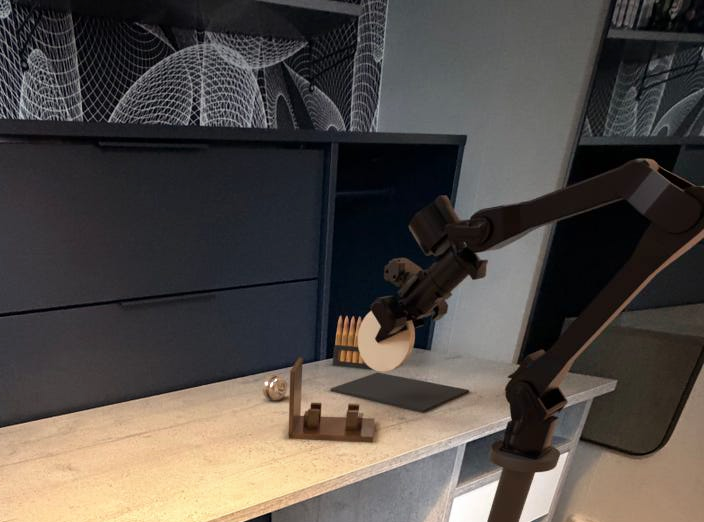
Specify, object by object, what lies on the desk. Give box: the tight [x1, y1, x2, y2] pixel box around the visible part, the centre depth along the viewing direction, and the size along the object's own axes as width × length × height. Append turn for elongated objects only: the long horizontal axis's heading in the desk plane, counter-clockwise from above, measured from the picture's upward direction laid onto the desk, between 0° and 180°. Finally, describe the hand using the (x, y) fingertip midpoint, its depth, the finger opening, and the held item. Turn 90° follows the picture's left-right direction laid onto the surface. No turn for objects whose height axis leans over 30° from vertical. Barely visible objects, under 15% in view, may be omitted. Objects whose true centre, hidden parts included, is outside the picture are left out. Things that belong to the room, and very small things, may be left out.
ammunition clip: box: [332, 315, 372, 370], centre depth 131 cm, size 11×2×12 cm, turn 54°
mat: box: [330, 371, 470, 414], centre depth 114 cm, size 24×18×1 cm
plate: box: [358, 310, 416, 373], centre depth 101 cm, size 12×2×12 cm, turn 42°
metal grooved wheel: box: [262, 374, 288, 402], centre depth 113 cm, size 5×3×5 cm, turn 129°
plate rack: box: [287, 357, 376, 443], centre depth 93 cm, size 15×10×12 cm, turn 75°
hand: (379, 339), depth 102 cm, fingers closed on plate, 2 cm apart
